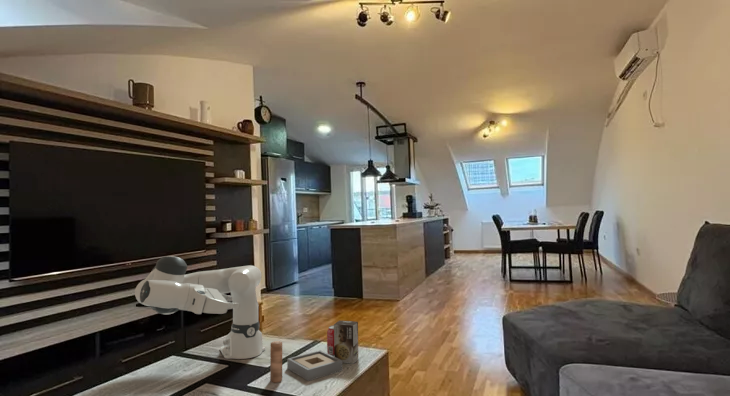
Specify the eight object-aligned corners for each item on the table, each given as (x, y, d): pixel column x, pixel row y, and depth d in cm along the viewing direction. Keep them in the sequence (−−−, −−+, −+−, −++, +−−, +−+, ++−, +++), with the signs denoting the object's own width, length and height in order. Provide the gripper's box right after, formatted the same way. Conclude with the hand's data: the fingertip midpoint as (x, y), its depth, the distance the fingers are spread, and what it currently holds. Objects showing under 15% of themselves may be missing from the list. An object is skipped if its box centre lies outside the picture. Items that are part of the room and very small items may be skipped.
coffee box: (358, 359, 176) (358, 321, 177) (353, 364, 170) (353, 325, 171) (339, 356, 179) (339, 319, 180) (333, 361, 173) (333, 323, 173)
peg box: (287, 368, 165) (287, 358, 166) (320, 359, 175) (320, 350, 176) (307, 380, 153) (307, 370, 153) (342, 370, 163) (342, 360, 163)
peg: (268, 380, 154) (268, 342, 154) (278, 377, 157) (279, 340, 157) (273, 383, 150) (273, 345, 151) (284, 380, 153) (284, 343, 154)
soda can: (343, 351, 186) (343, 325, 186) (341, 356, 179) (341, 329, 179) (328, 351, 187) (328, 324, 187) (325, 356, 180) (325, 328, 180)
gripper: (187, 298, 146) (225, 303, 153) (196, 315, 129) (239, 319, 136) (192, 281, 147) (230, 286, 154) (202, 295, 129) (244, 300, 136)
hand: (234, 302), depth 145 cm, fingers open, 8 cm apart
